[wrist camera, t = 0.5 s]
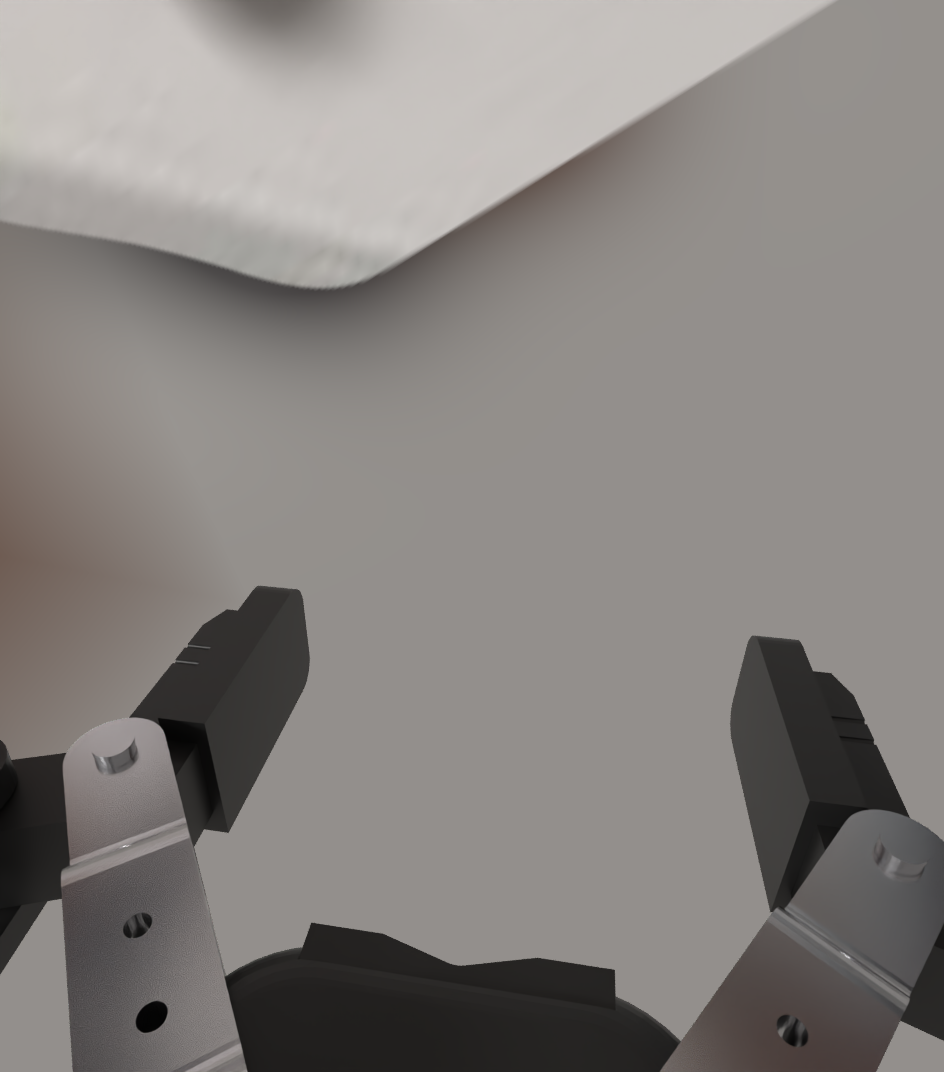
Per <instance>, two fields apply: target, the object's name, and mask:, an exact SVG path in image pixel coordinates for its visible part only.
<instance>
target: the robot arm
mask: <svg viewBox="0 0 944 1072" xmlns="http://www.w3.org/2000/svg"><path fill="white" fill-rule="evenodd" d="M309 661H310V657H309V647H308V639H307V630H306V622H305V613H304V605H303V598H302V595H301V592H300V591H299V590H297V589H287V588H276V587H267V586H257V587H256V588H255V589H254V590H253V591H252V592H251V594H250V595H249V597H248V598H247V599H246V600H245V602H244V603H243V605H242V606H241V607H240V608H239V610H238V611H236V610H225V611H224V612H222V613H221V614H219V615H218V616H216V617H215V618H213V619H212V620H210V621H208V622H207V623H205V624H204V625H203V626H202V627H201V628H200V629H199V631H198V632H197V633H196V635H195V636H194V637H193V638H192V639H191V641H190V642H189V643H188V647H187V648H184V649H183V651H182V652H181V653H180V655H179V656H178V657H177V658H176V662H175V663H173V664H172V665H171V666H170V667H169V668H168V670H167V671H166V672H165V673H164V675H163V676H162V677H161V678H160V680H159V681H158V682H157V683H156V685H155V686H154V687H153V689H152V690H151V691H150V692H149V694H148V695H147V696H146V697H145V699H144V700H143V701H142V702H141V704H140V705H139V706H138V707H137V709H136V710H135V711H134V712H133V714H132V715H131V716H130V717H129V718H124V719H118V720H114V721H110V722H107V723H104V724H102V725H100V726H98V727H95V728H93V729H92V730H90V731H88V732H87V733H85V734H84V735H83V736H81V737H80V738H79V739H78V740H77V741H76V742H75V743H73V745H72V746H71V747H70V748H69V750H68V751H67V753H62V754H55V755H47V756H39V757H31V758H24V759H16V760H11V758H10V756H9V753H8V751H7V749H6V746H5V744H4V743H3V742H2V741H1V740H0V974H1V972H2V971H3V969H4V968H5V966H6V965H7V963H8V962H9V960H10V959H11V957H12V955H13V954H14V952H15V951H16V949H17V948H18V946H19V945H20V943H21V941H22V940H23V938H24V937H25V935H26V934H27V932H28V931H29V929H30V927H31V926H32V924H33V923H34V921H35V920H36V918H37V917H38V915H39V913H40V912H41V910H42V909H43V907H44V906H45V904H46V903H47V901H50V900H57V899H62V907H63V923H64V940H65V955H66V971H67V988H68V1003H69V1020H70V1036H71V1052H72V1068H73V1072H876V1071H877V1069H878V1067H879V1065H880V1063H881V1061H882V1058H883V1056H884V1054H885V1052H886V1050H887V1048H888V1046H889V1044H890V1042H891V1039H892V1037H893V1035H894V1033H895V1031H896V1029H897V1027H898V1024H899V1022H900V1021H902V1022H905V1023H907V1024H909V1025H911V1026H913V1027H915V1028H918V1029H920V1030H922V1031H924V1032H926V1033H928V1034H931V1035H933V1036H935V1037H937V1038H939V1039H941V1040H944V841H943V840H941V839H940V838H939V837H938V836H937V835H936V834H935V833H933V832H932V831H931V830H929V829H928V828H927V827H925V826H923V825H922V824H920V823H918V822H916V821H914V820H913V819H911V818H910V817H909V815H908V813H907V810H906V808H905V806H904V804H903V802H902V800H901V797H900V795H899V793H898V791H897V789H896V786H895V784H894V782H893V780H892V778H891V776H890V773H889V771H888V769H887V767H886V765H885V763H884V760H883V759H882V756H881V754H880V752H879V750H878V747H877V746H876V745H874V739H873V737H872V734H871V732H870V730H869V728H868V726H867V725H866V724H865V723H864V721H865V719H864V717H863V715H862V713H861V710H860V708H859V706H858V704H857V702H856V700H855V697H854V696H853V694H852V693H850V692H849V691H848V690H847V689H846V688H845V687H844V686H843V685H842V684H841V683H840V682H839V681H838V680H837V679H836V678H835V677H834V676H833V675H832V674H831V673H824V672H814V671H813V670H812V668H811V666H810V663H809V661H808V658H807V656H806V653H805V651H804V648H803V646H802V644H801V642H800V641H799V640H791V639H782V638H772V637H761V636H752V637H751V638H750V639H749V641H748V644H747V648H746V652H745V655H744V660H743V664H742V668H741V671H740V676H739V679H738V683H737V687H736V691H735V695H734V699H733V703H732V709H731V723H730V725H731V739H732V743H733V748H734V753H735V757H736V761H737V766H738V770H739V775H740V779H741V784H742V788H743V793H744V797H745V801H746V806H747V810H748V815H749V819H750V824H751V828H752V832H753V837H754V841H755V846H756V850H757V855H758V859H759V863H760V868H761V872H762V877H763V881H764V886H765V890H766V894H767V899H768V903H769V908H770V912H773V913H772V914H771V915H770V916H769V918H768V919H767V920H766V922H765V923H764V925H763V926H762V928H761V929H760V930H759V932H758V933H757V935H756V936H755V937H754V939H753V940H752V942H751V943H750V945H749V946H748V947H747V949H746V950H745V952H744V953H743V954H742V956H741V958H740V959H739V960H738V962H737V963H736V964H735V966H734V967H733V969H732V970H731V972H730V973H729V974H728V976H727V977H726V978H725V980H724V982H723V983H722V984H721V986H720V987H719V988H718V990H717V991H716V993H715V994H714V996H713V997H712V998H711V1000H710V1001H709V1003H708V1004H707V1005H706V1007H705V1008H704V1010H703V1011H702V1012H701V1014H700V1015H699V1017H698V1018H697V1020H696V1021H695V1023H694V1024H693V1025H692V1027H691V1028H690V1029H689V1031H688V1032H687V1034H686V1035H685V1037H684V1038H683V1039H682V1041H680V1040H679V1039H678V1038H677V1037H676V1036H675V1035H673V1034H672V1033H671V1032H670V1031H669V1030H668V1029H667V1028H666V1027H665V1026H663V1025H662V1024H661V1023H659V1022H658V1021H656V1020H655V1019H654V1018H653V1017H651V1016H650V1015H649V1014H647V1013H646V1012H644V1011H642V1010H641V1009H639V1008H637V1007H635V1006H634V1005H632V1004H630V1003H629V1002H626V1001H624V1000H622V999H620V998H618V997H615V970H612V969H606V968H599V967H592V966H586V965H580V964H574V963H567V962H561V961H554V960H548V959H541V958H532V959H522V960H513V961H503V962H494V963H484V964H475V965H466V966H457V965H452V964H449V963H447V962H445V961H442V960H440V959H438V958H436V957H433V956H431V955H429V954H427V953H424V952H422V951H420V950H418V949H416V948H413V947H411V946H409V945H407V944H404V943H402V942H400V941H398V940H396V939H393V938H391V937H389V936H387V935H385V934H380V933H374V932H368V931H361V930H355V929H349V928H342V927H336V926H329V925H323V924H316V923H311V925H310V929H309V931H308V934H307V937H306V940H305V942H304V945H303V947H302V948H294V949H289V950H285V951H281V952H277V953H273V954H271V955H268V956H265V957H262V958H259V959H257V960H255V961H253V962H250V963H249V964H246V965H245V966H242V967H240V968H238V969H237V970H235V971H233V972H232V973H230V974H229V975H227V976H226V973H225V969H224V965H223V962H222V957H221V953H220V950H219V946H218V942H217V938H216V933H215V930H214V925H213V922H212V918H211V914H210V910H209V905H208V902H207V898H206V893H205V889H204V885H203V881H202V877H201V873H200V869H199V865H198V861H197V857H196V853H195V849H194V846H195V844H196V842H197V841H198V838H199V837H200V835H201V833H202V832H203V830H204V829H207V830H213V831H220V832H227V833H228V832H229V831H230V829H231V827H232V825H233V823H234V821H235V819H236V818H237V816H238V814H239V812H240V810H241V808H242V806H243V804H244V802H245V800H246V798H247V797H248V794H249V793H250V791H251V789H252V787H253V785H254V783H255V781H256V779H257V777H258V776H259V773H260V772H261V770H262V768H263V766H264V764H265V762H266V760H267V758H268V756H269V755H270V753H271V751H272V749H273V747H274V745H275V743H276V741H277V739H278V737H279V735H280V733H281V731H282V730H283V728H284V726H285V724H286V722H287V720H288V718H289V716H290V714H291V712H292V710H293V709H294V707H295V705H296V703H297V701H298V699H299V697H300V695H301V693H302V691H303V689H304V687H305V684H306V681H307V677H308V672H309Z"/></svg>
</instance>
